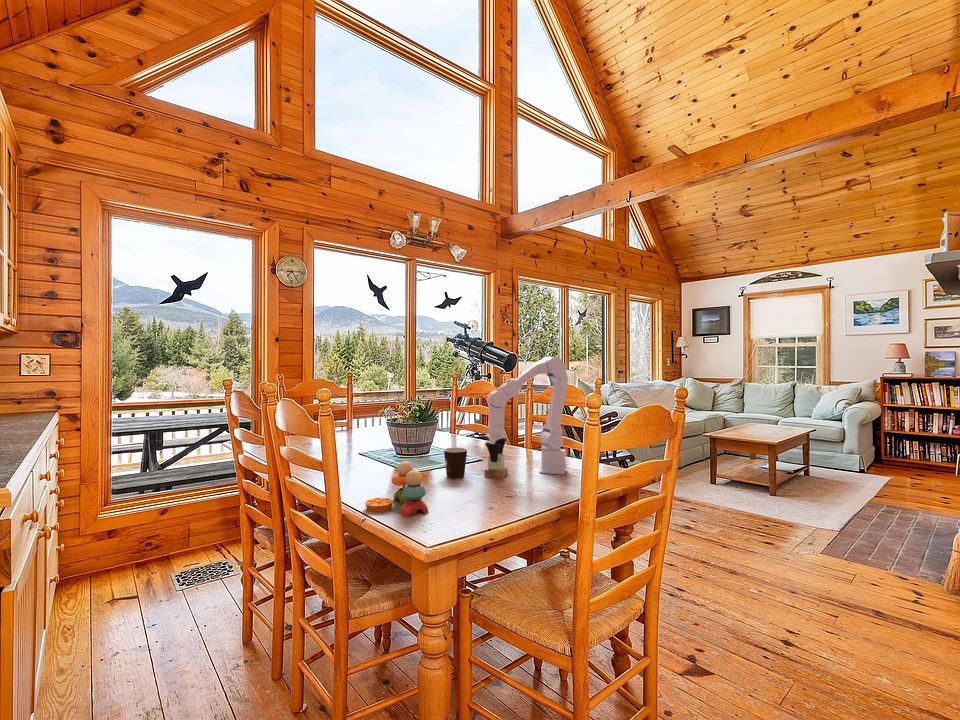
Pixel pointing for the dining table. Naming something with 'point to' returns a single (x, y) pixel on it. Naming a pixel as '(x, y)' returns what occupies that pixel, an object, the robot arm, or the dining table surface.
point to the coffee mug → (455, 462)
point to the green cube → (496, 463)
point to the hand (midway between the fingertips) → (496, 459)
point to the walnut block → (496, 473)
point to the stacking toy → (403, 493)
